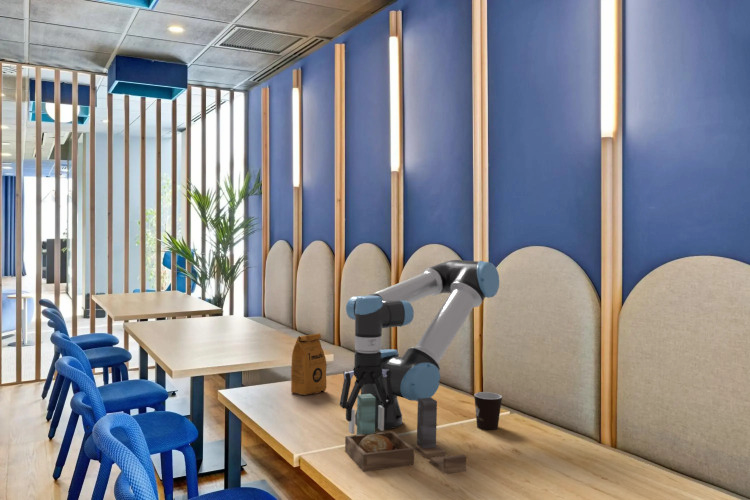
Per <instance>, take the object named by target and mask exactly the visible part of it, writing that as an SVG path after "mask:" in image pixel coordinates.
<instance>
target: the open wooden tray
mask: <svg viewBox="0 0 750 500" xmlns="http://www.w3.org/2000/svg"><path fill="white" fill-rule="evenodd" d="M375 399H376V397H374V396H373V395H372V394H362V395H361V394H358V396H357V399H356V402H357V403H356V411H357V424H356V434H352V435H346V436H345V440H344V441H345V443H344V444H345V445H344V452H345V453H346V454H347V455H348V456H349V457H350V458H351V460H353V462H354V463H355V464H356V465H357V466H358V468H360V469H361V471H362V472H368V471H369V472H370V471H377V470H384V469H392V468H401V467H409V466H415V449H414V448H413V446H411V445H410V444H409V443H408V442H407V441H405V440H404V439H403V438H401V437H400V436H399V435H397V433H395V432H394V431H384V432H383V431H381V432H376V429H375ZM370 434H377V435H382V436H384V437H386V438H388V439H389V440H390V441H391V442H392V444H393V445H394V446H395V449H394V450H388V451H379V452H370V453H365V451H364V450H363V449H362V448H361V447H360V446H359V443H360V442H361V440H362V439H363V438H364V437H366V436H367V435H370Z"/></svg>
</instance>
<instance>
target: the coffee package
mask: <svg viewBox="0 0 750 500" xmlns="http://www.w3.org/2000/svg"><path fill="white" fill-rule="evenodd" d="M321 338H322V335H321V333H319V332H318V333H313V334H308V335H307V334H306V335H300V336H299V335H298V336H297V338H296V341H295V344H294V346H293V349H292V354H291V368H290V369H291V370H290V371H291V373H290V375H291V379H290V381H291V387H290V388H291V389H290V392H291V393H292V394H297V393H298V394H299V395H301V396H307V395H308V394H309V395H313V394H312V393H314V394H319V393H322V392H321V391H324V392H325V391H326V390H327V358H326V356H325V352H324V349H323V348H322V343H321V340H320V339H321ZM318 392H319V393H318ZM298 394H297V395H298Z"/></svg>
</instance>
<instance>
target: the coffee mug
mask: <svg viewBox="0 0 750 500" xmlns="http://www.w3.org/2000/svg"><path fill="white" fill-rule="evenodd" d="M473 395H474V396H473V397H474V398H473V399H474V406H475V419H476V427H477V429H480V430H482V431H497V430H498V428H499V420H500V414H501V407H502V400H503V395H501V394H499V393H495V392H489V391H485V392H484V391H482V392H481V391H479V392H476V393H474V394H473Z"/></svg>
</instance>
